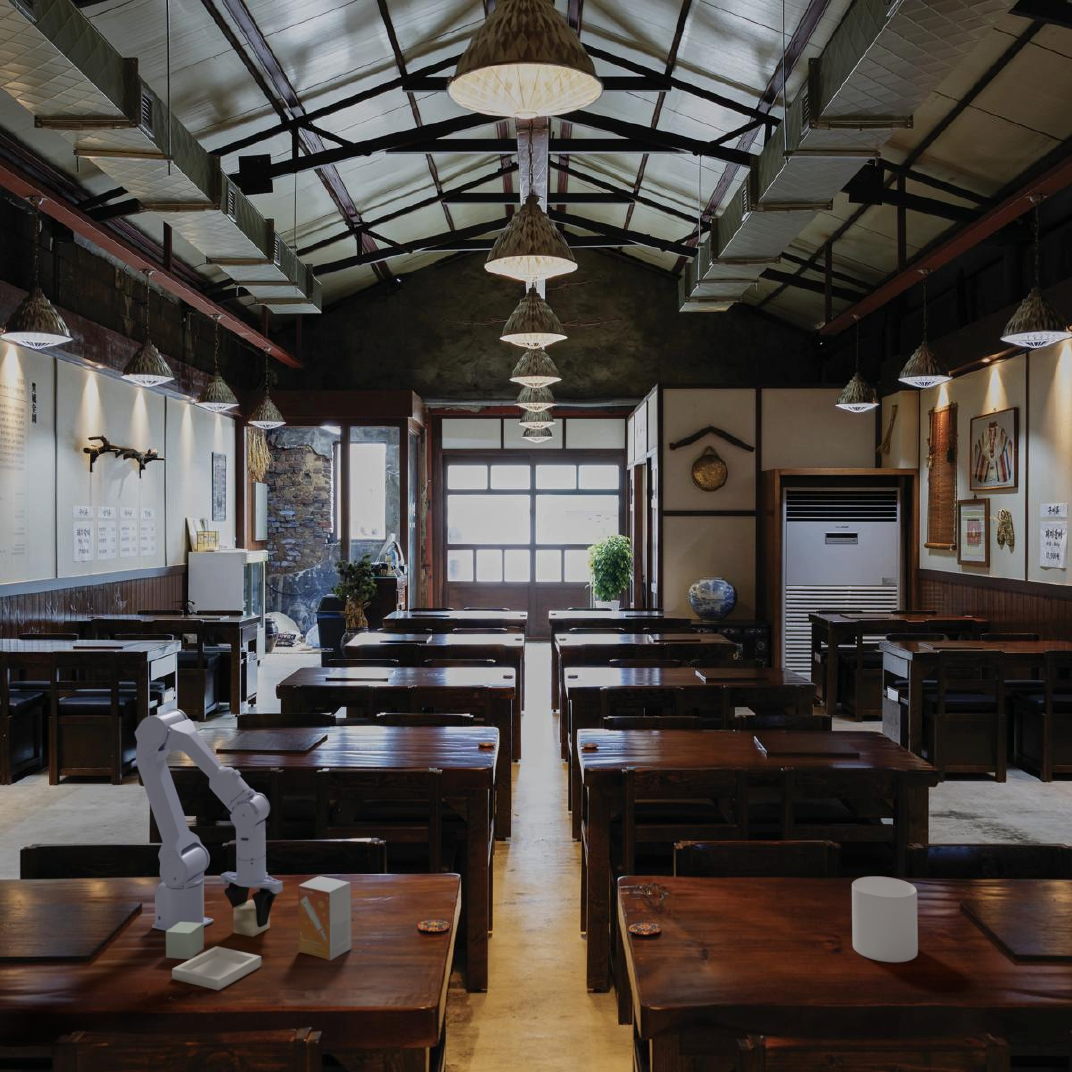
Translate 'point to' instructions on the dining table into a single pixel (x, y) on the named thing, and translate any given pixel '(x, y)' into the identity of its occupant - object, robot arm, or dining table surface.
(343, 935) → the small box
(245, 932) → the maple cube
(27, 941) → the dining table surface
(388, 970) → the dining table surface
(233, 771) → the robot arm
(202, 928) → the sage cube
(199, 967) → the tray
